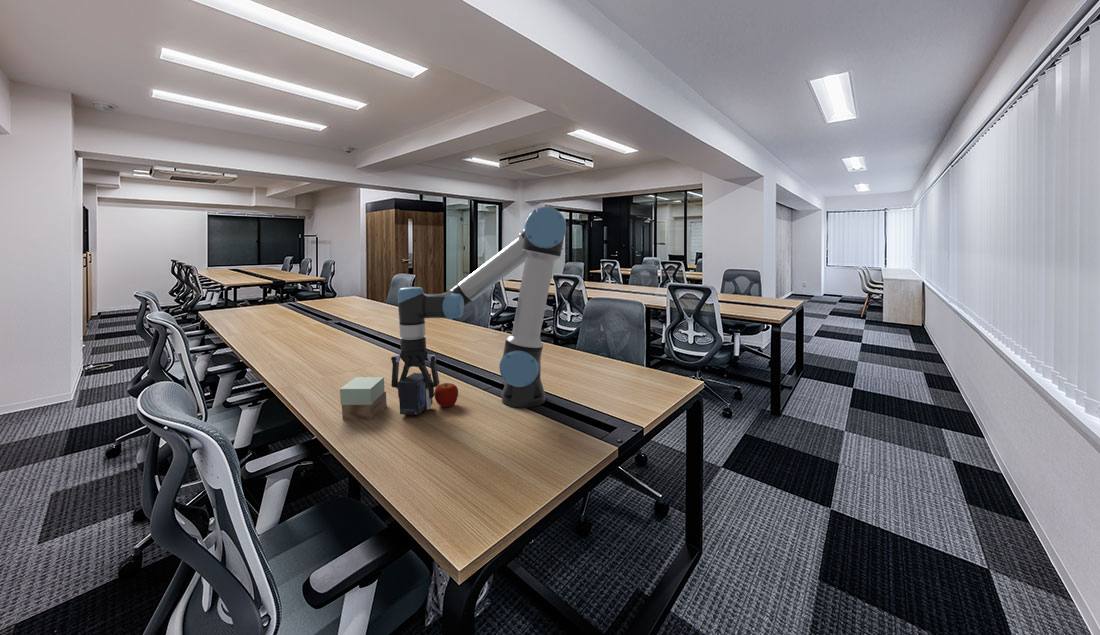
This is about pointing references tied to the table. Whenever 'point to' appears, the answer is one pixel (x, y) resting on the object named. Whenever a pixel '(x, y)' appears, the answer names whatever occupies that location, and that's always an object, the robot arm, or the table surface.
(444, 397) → the apple
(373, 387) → the tower top
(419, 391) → the small box
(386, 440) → the table surface
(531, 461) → the table surface
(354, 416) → the tower base
